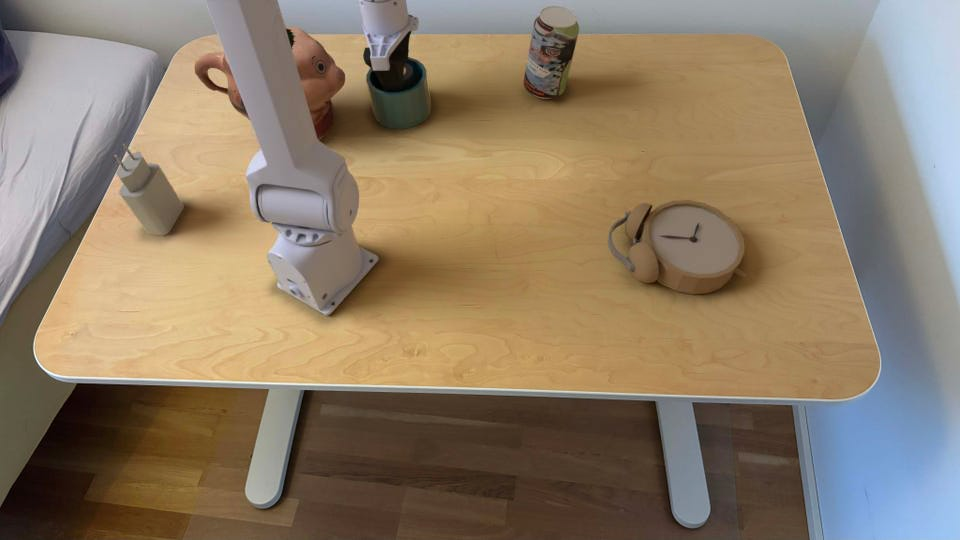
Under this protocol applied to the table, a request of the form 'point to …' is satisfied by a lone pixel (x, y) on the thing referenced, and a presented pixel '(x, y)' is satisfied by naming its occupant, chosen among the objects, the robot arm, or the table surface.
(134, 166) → the power adapter
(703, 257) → the alarm clock
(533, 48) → the beverage can
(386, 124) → the cup
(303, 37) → the decorative planter
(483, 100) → the table surface
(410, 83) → the tape roll
